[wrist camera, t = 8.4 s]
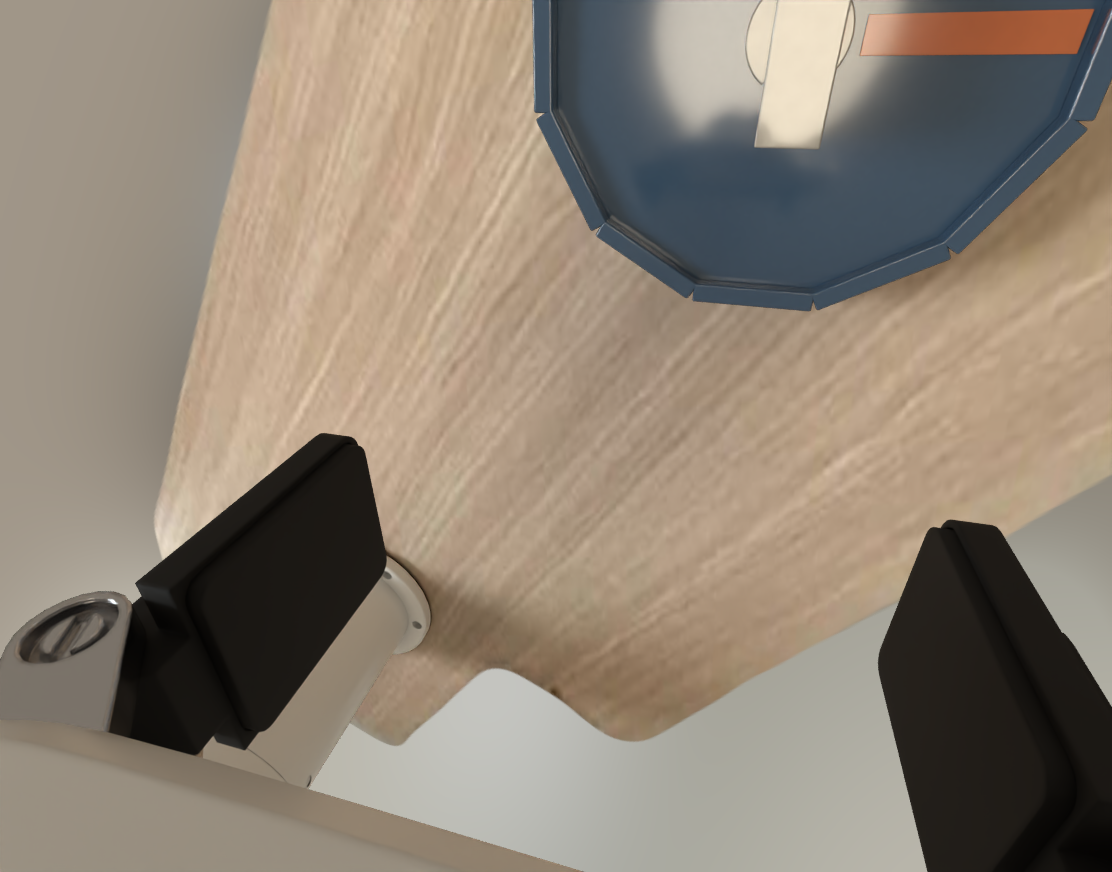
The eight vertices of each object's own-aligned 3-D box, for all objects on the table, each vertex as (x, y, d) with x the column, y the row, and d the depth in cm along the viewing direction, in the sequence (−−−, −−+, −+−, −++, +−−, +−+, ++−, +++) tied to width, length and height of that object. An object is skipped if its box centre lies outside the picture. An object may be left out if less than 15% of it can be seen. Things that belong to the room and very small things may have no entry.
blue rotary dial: (546, 278, 29) (506, 317, 24) (540, -325, 19) (469, -462, 14) (992, 315, 24) (1050, 373, 20) (1308, -455, 14) (1589, -724, 9)
